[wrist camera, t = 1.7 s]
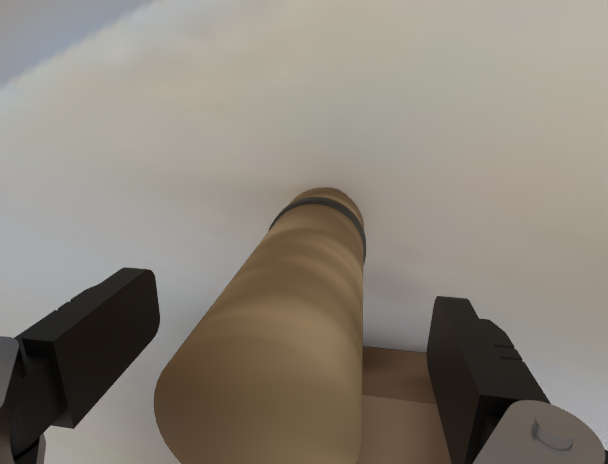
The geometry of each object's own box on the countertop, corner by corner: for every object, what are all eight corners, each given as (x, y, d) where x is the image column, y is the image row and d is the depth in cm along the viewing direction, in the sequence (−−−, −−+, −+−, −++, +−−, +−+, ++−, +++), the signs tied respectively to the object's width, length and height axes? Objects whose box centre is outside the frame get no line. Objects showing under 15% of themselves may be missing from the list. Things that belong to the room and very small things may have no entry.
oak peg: (368, 180, 19) (377, 345, 6) (362, 255, 20) (358, 523, 7) (288, 176, 20) (136, 318, 7) (288, 249, 21) (161, 488, 8)
